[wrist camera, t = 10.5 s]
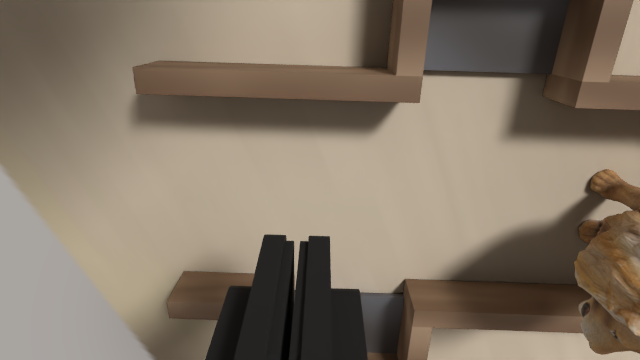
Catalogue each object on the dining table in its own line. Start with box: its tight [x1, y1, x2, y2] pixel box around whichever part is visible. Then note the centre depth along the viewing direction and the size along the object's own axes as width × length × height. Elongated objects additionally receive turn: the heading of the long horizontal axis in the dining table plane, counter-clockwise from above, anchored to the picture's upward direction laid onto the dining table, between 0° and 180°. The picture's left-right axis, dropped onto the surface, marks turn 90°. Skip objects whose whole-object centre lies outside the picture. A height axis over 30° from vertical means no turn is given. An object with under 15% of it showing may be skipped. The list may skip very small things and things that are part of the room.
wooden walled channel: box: [133, 0, 640, 360], centre depth 17 cm, size 22×35×5 cm, turn 88°
